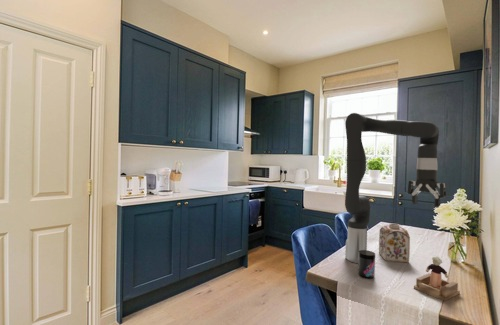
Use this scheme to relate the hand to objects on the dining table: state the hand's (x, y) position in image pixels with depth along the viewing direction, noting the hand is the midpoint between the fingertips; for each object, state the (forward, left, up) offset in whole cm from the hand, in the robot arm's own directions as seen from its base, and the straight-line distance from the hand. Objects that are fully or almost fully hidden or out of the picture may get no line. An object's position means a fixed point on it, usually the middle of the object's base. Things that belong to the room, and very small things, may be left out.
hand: (425, 205), depth 114 cm
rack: (+8, -7, -32) cm, 34 cm away
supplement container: (-14, -20, -32) cm, 40 cm away
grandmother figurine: (+8, -7, -31) cm, 33 cm away
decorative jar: (-21, +13, -32) cm, 41 cm away
